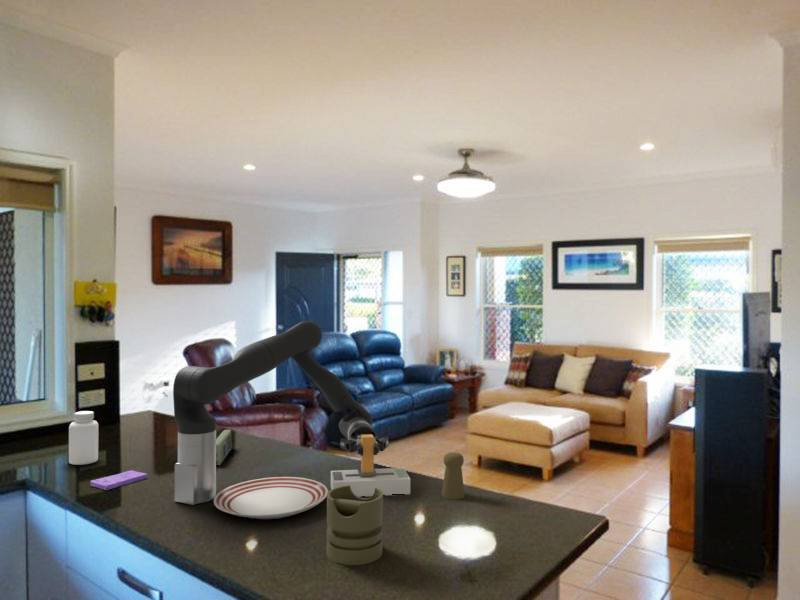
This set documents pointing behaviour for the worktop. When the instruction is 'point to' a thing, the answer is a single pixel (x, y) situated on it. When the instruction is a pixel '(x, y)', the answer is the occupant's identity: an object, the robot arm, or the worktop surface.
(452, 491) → the olive pawn figure
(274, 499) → the dinner plate
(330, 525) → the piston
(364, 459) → the handle
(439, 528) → the worktop surface
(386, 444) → the robot arm
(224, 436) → the handheld radio
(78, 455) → the pill bottle
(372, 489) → the box
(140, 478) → the sponges
